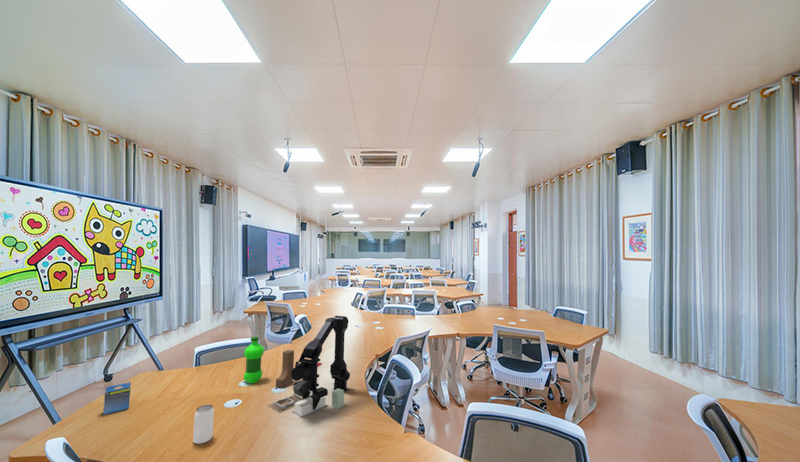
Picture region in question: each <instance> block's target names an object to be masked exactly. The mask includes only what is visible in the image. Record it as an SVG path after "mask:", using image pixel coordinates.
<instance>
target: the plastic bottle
mask: <svg viewBox="0 0 800 462" xmlns="http://www.w3.org/2000/svg"><path fill="white" fill-rule="evenodd" d="M259 340H260V339H259V336H251V337H250V342H251V343H250V344H249V345H248V346H247V347H246V348H245V350H244V353H243V356H244V358H245V359H246V360H245V372H244V374H243V380H244V381H245V382H246V383H248V384H249V383H250V385H251V384H256V383H258V382H259V381H260V380H261V378H262V376H263V371H262V370H263V369H261V368H262V357H263V355H264V353H265V348H264V346H263V345H261V344H260V343H258V342H259Z"/></svg>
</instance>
